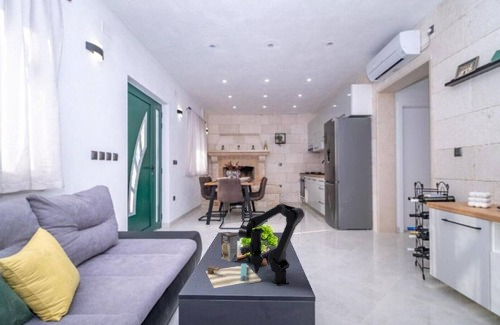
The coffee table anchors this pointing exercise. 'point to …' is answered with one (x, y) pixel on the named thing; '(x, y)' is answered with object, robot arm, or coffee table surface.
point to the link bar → (243, 272)
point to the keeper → (212, 269)
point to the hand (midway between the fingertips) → (256, 269)
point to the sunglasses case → (264, 262)
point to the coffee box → (229, 246)
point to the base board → (231, 277)
